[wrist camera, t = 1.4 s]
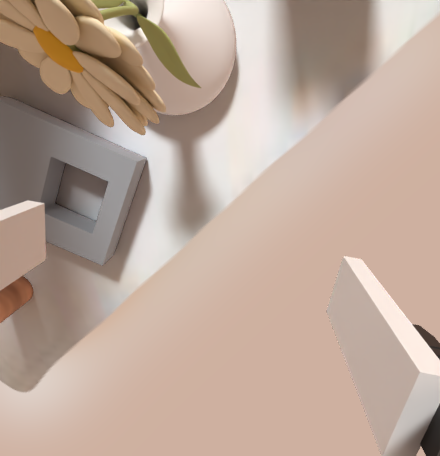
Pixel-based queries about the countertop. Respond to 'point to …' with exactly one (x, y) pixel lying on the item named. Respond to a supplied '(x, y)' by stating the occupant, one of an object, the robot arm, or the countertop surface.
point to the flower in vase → (126, 52)
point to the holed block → (52, 173)
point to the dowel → (14, 297)
